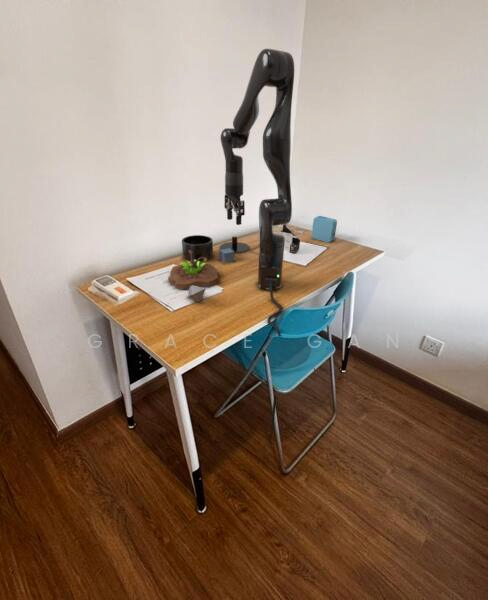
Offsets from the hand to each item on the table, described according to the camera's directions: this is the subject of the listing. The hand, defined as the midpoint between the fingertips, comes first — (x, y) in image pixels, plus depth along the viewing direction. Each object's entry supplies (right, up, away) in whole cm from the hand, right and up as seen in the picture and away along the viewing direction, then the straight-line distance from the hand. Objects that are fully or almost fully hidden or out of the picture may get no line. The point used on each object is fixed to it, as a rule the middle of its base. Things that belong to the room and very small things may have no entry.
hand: (234, 222), depth 140 cm
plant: (-16, -25, -10) cm, 31 cm away
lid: (-1, -8, +20) cm, 21 cm away
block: (-4, -16, +6) cm, 18 cm away
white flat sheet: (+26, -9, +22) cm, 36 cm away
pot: (-17, -14, +9) cm, 24 cm away
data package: (+46, -1, +37) cm, 60 cm away
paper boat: (-11, -34, -25) cm, 44 cm away
